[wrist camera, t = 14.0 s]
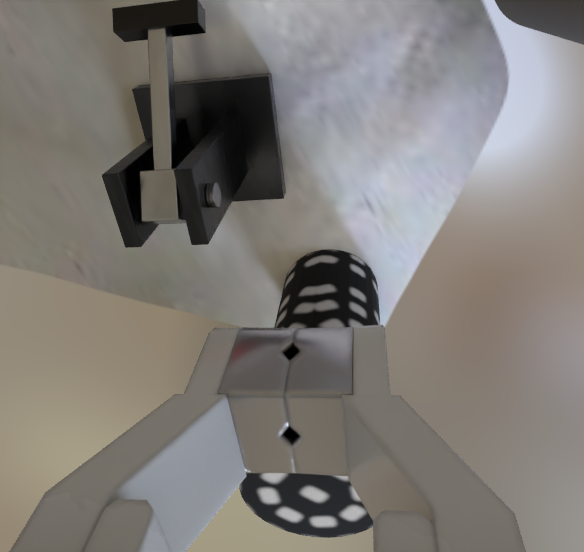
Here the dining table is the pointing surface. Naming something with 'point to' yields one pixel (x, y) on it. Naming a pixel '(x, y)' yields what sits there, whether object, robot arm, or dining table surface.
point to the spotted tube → (317, 314)
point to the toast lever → (161, 96)
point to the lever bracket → (205, 154)
